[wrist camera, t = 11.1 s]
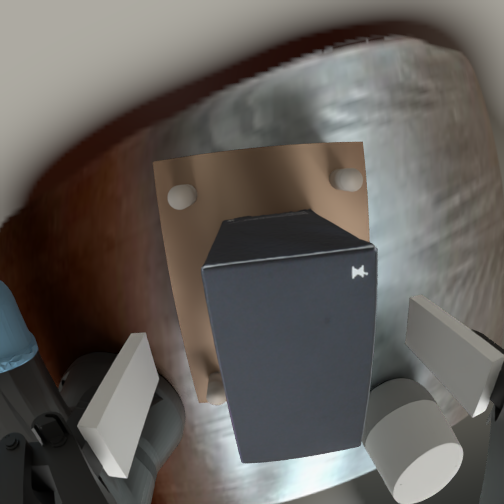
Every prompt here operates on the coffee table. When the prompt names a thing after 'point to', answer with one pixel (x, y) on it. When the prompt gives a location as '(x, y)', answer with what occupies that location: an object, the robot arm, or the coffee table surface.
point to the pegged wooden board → (245, 204)
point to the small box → (292, 332)
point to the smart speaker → (410, 440)
